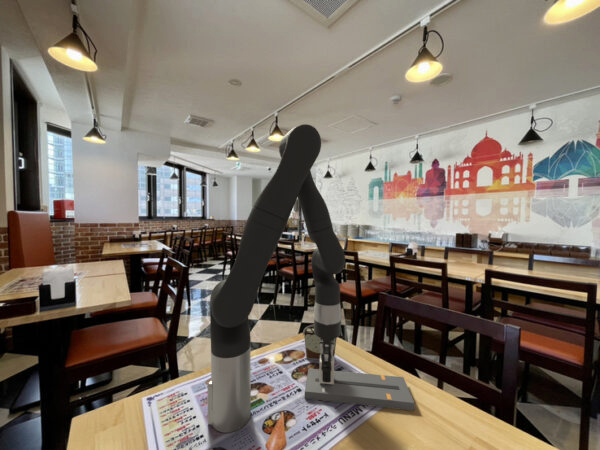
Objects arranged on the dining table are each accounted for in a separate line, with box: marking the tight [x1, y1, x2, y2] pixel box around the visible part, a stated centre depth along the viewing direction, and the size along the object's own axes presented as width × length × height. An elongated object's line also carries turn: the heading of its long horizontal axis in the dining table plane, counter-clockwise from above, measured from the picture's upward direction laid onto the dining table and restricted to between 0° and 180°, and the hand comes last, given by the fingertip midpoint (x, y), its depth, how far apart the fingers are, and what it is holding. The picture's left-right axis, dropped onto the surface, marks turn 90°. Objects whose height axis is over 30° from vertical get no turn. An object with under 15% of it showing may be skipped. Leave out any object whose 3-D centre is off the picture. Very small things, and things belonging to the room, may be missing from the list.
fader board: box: [304, 367, 415, 412], centre depth 68 cm, size 28×10×2 cm, turn 82°
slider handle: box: [318, 355, 335, 384], centre depth 69 cm, size 4×4×6 cm
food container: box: [302, 323, 340, 361], centre depth 86 cm, size 12×6×10 cm, turn 84°
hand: (326, 376), depth 69 cm, fingers closed on slider handle, 3 cm apart
